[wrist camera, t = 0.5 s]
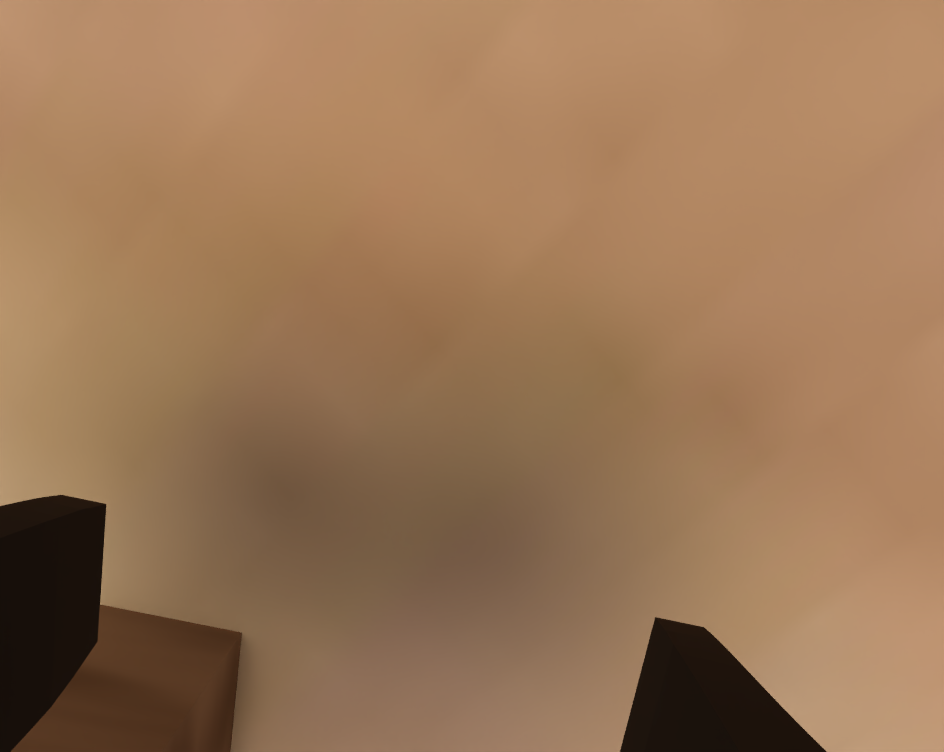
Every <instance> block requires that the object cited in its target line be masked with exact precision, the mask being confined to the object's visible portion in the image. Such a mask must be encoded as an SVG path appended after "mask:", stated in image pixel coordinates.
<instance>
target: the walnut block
mask: <svg viewBox="0 0 944 752" xmlns="http://www.w3.org/2000/svg"><path fill="white" fill-rule="evenodd" d="M241 636H242V633H240V632H235V631H230V630H225V629H220V628H215V627H210V626H205V625H200V624H195V623H190V622H185V621H180V620H175V619H169V618H164V617H159V616H154V615H149V614H144V613H139V612H134V611H129V610H124V609H119V608H114V607H109V606H104V605H100V611H99V627H98V642H97V643H96V645H95V646H94V648H93V649H92V651H91V652H90V653H89V655H88V656H87V658H86V659H85V661H84V662H83V664H82V665H81V667H80V668H79V669H78V671H77V672H76V674H75V675H74V677H73V678H72V680H71V681H70V682H69V684H68V685H67V686H66V688H65V689H64V690H63V692H62V693H61V694H60V696H59V697H58V698H57V700H56V701H55V703H54V704H53V705H52V707H51V708H50V709H49V710H48V711H47V712H46V713H45V715H44V716H43V717H42V718H41V719H40V720H39V721H38V722H37V724H36V725H35V726H34V727H33V728H32V729H31V730H30V731H29V732H28V733H27V734H26V736H25V737H24V738H23V739H22V740H21V741H20V742H19V743H18V744H17V745H16V746H15V748H14V749H13V750H12V751H11V752H230V749H231V739H232V729H233V718H234V708H235V698H236V687H237V677H238V667H239V656H240V646H241Z"/></svg>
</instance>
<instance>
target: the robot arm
mask: <svg viewBox="0 0 944 752" xmlns="http://www.w3.org/2000/svg"><path fill="white" fill-rule="evenodd" d="M105 515H106V504H103V503H98V502H93V501H89V500H84V499H79V498H74V497H69V496H64V495H57V496H49V497H42V498H37V499H31V500H26V501H22V502H17V503H13V504H8V505H4V506H0V752H11V751H12V750H13V749H14V748H15V746H16V745H17V744H18V743H19V742H20V741H21V740H22V739H23V738H24V737H25V736H26V734H27V733H28V732H29V731H30V730H31V729H32V728H33V727H34V726H35V725H36V724H37V722H38V721H39V720H40V719H41V718H42V717H43V716H44V715H45V713H46V712H47V711H48V710H49V709H50V708H51V707H52V705H53V704H54V703H55V701H56V700H57V698H58V697H59V696H60V694H61V693H62V692H63V690H64V689H65V688H66V686H67V685H68V684H69V682H70V681H71V680H72V678H73V677H74V675H75V674H76V672H77V671H78V669H79V668H80V667H81V665H82V664H83V662H84V661H85V659H86V658H87V656H88V655H89V653H90V652H91V651H92V649H93V648H94V646H95V645H96V643H97V642H98V627H99V611H100V595H101V579H102V563H103V547H104V531H105ZM620 752H826V751H825V750H824V749H823V748H822V747H821V746H820V745H819V744H818V743H817V742H816V741H815V740H814V739H813V738H812V737H811V736H810V735H809V734H808V733H807V732H806V731H805V730H804V729H803V728H802V727H801V726H800V725H799V724H798V723H797V722H796V721H795V720H794V719H793V718H792V717H791V716H790V715H789V714H788V713H787V712H786V711H785V710H784V709H783V708H782V707H781V706H780V704H779V703H778V702H777V701H776V700H775V699H774V698H773V697H772V696H771V695H770V694H769V693H768V692H767V691H766V690H765V689H764V688H763V687H762V686H761V685H760V684H759V682H758V681H757V680H756V679H755V678H754V677H753V676H752V675H751V674H750V673H749V672H748V671H747V670H746V669H745V668H744V667H743V666H742V664H741V663H740V662H739V661H738V660H737V659H736V658H735V657H734V656H733V655H732V654H731V653H730V652H729V651H728V650H727V649H726V648H725V647H724V646H723V645H722V644H721V643H720V642H719V641H718V640H717V639H716V638H715V637H714V636H713V635H712V634H711V633H710V632H709V631H707V630H706V629H705V628H704V627H700V626H695V625H690V624H685V623H680V622H676V621H671V620H666V619H661V618H656V617H655V621H654V625H653V628H652V632H651V636H650V640H649V644H648V647H647V651H646V655H645V659H644V663H643V666H642V670H641V674H640V678H639V682H638V685H637V689H636V693H635V697H634V701H633V705H632V708H631V712H630V716H629V720H628V724H627V727H626V731H625V735H624V739H623V743H622V746H621V750H620Z"/></svg>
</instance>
